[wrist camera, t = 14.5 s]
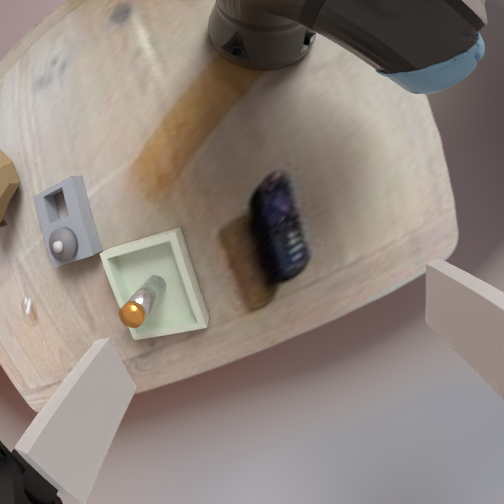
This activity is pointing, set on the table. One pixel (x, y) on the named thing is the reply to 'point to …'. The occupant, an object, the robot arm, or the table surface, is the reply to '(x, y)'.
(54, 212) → the block
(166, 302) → the tray
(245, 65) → the robot arm
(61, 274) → the table surface
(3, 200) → the low-poly potato
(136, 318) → the lock pin
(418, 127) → the table surface
